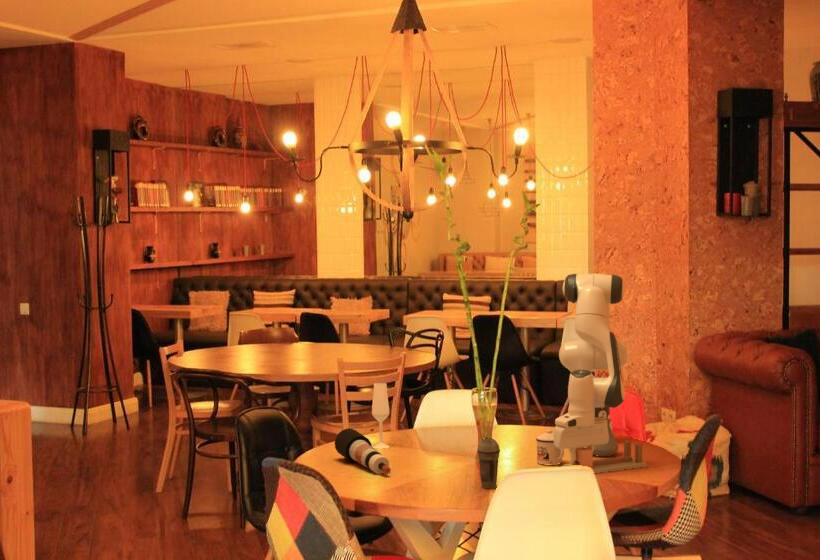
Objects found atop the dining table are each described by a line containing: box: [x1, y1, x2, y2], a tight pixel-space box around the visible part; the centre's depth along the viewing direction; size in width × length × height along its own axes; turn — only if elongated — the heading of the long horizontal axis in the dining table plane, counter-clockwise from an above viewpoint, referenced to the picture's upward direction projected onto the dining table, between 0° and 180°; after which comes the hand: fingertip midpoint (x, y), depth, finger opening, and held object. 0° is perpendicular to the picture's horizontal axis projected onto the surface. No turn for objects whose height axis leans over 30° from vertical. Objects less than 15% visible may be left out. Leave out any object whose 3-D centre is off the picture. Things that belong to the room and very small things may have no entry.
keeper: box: [570, 446, 594, 468], centre depth 352 cm, size 7×4×6 cm, turn 25°
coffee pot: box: [585, 417, 619, 457], centre depth 374 cm, size 21×12×15 cm, turn 117°
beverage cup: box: [476, 424, 501, 490], centre depth 331 cm, size 7×7×20 cm
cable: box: [334, 428, 392, 475], centre depth 362 cm, size 10×34×10 cm, turn 27°
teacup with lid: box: [535, 429, 565, 466], centre depth 363 cm, size 12×9×12 cm
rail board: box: [562, 440, 648, 474], centre depth 356 cm, size 12×26×7 cm, turn 115°
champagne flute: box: [371, 382, 391, 450], centre depth 395 cm, size 7×7×24 cm
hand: (581, 459), depth 352 cm, fingers closed on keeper, 4 cm apart
